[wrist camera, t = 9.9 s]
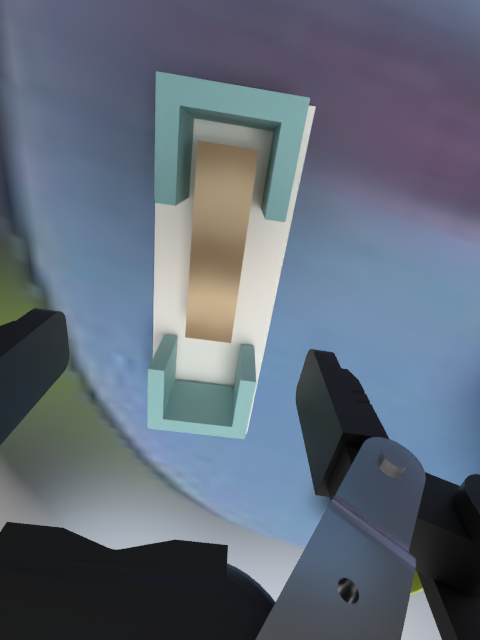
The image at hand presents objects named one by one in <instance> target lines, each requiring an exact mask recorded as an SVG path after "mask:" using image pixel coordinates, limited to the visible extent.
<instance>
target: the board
mask: <svg viewBox="0 0 480 640" xmlns="http://www.w3.org/2000/svg"><path fill="white" fill-rule="evenodd" d="M314 112H315V106H309V107H308V112H307V117H306V122H305V127H304V132H303V137H302V142H301V147H300V152H299V157H298V162H297V167H296V172H295V177H294V182H293V186H292V191H291V196H290V201H289V206H288V211H287V216H286V221H285V222H280V221H273V220H266V219H265V218H264V215H263V213H262V210H261V204H262V198H263V192H264V185H265V179H266V173H267V167H268V161H269V155H270V149H271V143H272V137H273V131H267V130H261V129H255V128H249V127H243V126H237V125H231V124H225V123H219V122H213V121H207V120H201V119H195V118H194V128H193V144H192V160H191V176H190V192H189V198H187V199H186V200H184V201H182V202H181V203H179V204H177V205H176V206H173V205H166V204H160V203H155V258H154V323H153V357H154V355H155V353H156V351H157V349H158V347H159V344H160V342H161V340H162V338H163V336H164V335H169V336H177V337H178V340H177V358H176V375H175V380H178V381H187V382H195V383H203V384H212V385H220V386H228V387H234V383H235V377H236V371H237V365H238V359H239V353H240V348H241V345H247V346H254V349H255V367H256V386H255V391H254V396H253V401H252V405H251V410H250V415H249V420H248V425H247V429H246V434H247V430H248V426H249V421H250V416H251V411H252V407H253V402H254V397H255V392H256V388H257V383H258V378H259V373H260V369H261V364H262V359H263V354H264V350H265V345H266V340H267V335H268V331H269V326H270V321H271V316H272V312H273V307H274V302H275V297H276V293H277V288H278V283H279V278H280V274H281V269H282V264H283V259H284V255H285V250H286V245H287V240H288V236H289V231H290V226H291V221H292V217H293V212H294V207H295V202H296V198H297V193H298V188H299V183H300V179H301V174H302V169H303V164H304V160H305V155H306V150H307V145H308V141H309V136H310V131H311V126H312V122H313V117H314ZM198 141H205V142H211V143H218V144H224V145H230V146H237V147H243V148H249V149H256V150H259V153H258V159H257V166H256V173H255V180H254V187H253V194H252V201H251V208H250V215H249V222H248V229H247V236H246V243H245V250H244V257H243V263H242V270H241V277H240V284H239V291H238V298H237V305H236V312H235V319H234V326H233V333H232V340H231V343H226V342H218V341H210V340H202V339H194V338H186V337H185V331H186V315H187V300H188V284H189V269H190V253H191V237H192V222H193V206H194V191H195V175H196V159H197V144H198Z"/></svg>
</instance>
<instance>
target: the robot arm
mask: <svg viewBox="0 0 480 640" xmlns="http://www.w3.org/2000/svg"><path fill="white" fill-rule="evenodd" d="M68 361H69V344H68V335H67V326H66V318H65V315H64V314H63V313H62V312H59V311H52V310H46V309H39V308H35V309H32V310H31V311H29V312H28V313H26V314H25V315H24V316H22V317H21V318H19V319H18V320H16V321H12V322H10V323H7V324H4V325H2V326H0V445H1V444H2V443H3V441H4V440H5V439H6V438H7V437H8V436H9V434H10V433H11V432H12V431H13V430H14V429H15V428H16V426H17V425H18V424H19V423H20V422H21V421H22V419H23V418H24V417H25V416H26V415H27V414H28V413H29V411H30V410H31V409H32V408H33V407H34V406H35V404H36V403H37V402H38V401H39V400H40V399H41V398H42V396H43V395H44V394H45V393H46V392H47V391H48V389H49V388H50V387H51V386H52V385H53V384H54V382H55V381H56V380H57V379H58V378H59V377H60V376H61V374H62V373H63V372H64V371H65V369H66V367H67V365H68ZM296 405H297V410H298V415H299V420H300V424H301V429H302V434H303V438H304V443H305V448H306V453H307V457H308V462H309V467H310V471H311V476H312V481H313V486H314V490H315V495H320V496H328V497H330V499H331V502H330V504H329V505H328V507H327V509H326V511H325V513H324V515H323V516H322V518H321V520H320V522H319V524H318V526H317V527H316V529H315V531H314V533H313V535H312V537H311V538H310V540H309V542H308V544H307V546H306V548H305V550H304V551H303V553H302V555H301V557H300V559H299V561H298V563H297V564H296V566H295V568H294V570H293V572H292V573H291V575H290V577H289V579H288V581H287V583H286V584H285V586H284V588H283V590H282V592H281V594H280V596H279V597H278V599H277V601H276V602H275V601H274V600H273V599H272V597H271V596H270V595H269V594H268V593H267V592H266V591H265V590H264V589H263V587H261V585H260V584H259V583H257V582H256V581H255V580H254V579H252V578H251V577H250V576H249V575H248V574H246V573H244V572H243V571H241V570H239V569H238V568H236V567H234V566H232V565H230V564H227V551H228V545H220V544H210V543H201V542H192V541H182V540H171V541H166V542H160V543H154V544H148V545H143V546H138V547H132V548H126V549H121V550H113V549H110V548H107V547H105V546H103V545H100V544H98V543H96V542H94V541H91V540H89V539H87V538H84V537H82V536H80V535H78V534H76V533H73V532H71V531H69V530H67V529H64V528H59V527H50V526H40V525H31V524H21V523H12V522H7V523H6V524H5V526H4V527H3V529H2V531H1V532H0V640H401V636H402V631H403V626H404V621H405V617H406V612H407V607H408V602H409V597H410V593H411V588H412V583H413V578H414V573H415V571H417V574H418V576H419V579H420V582H421V584H422V587H423V590H424V592H425V595H426V598H427V600H428V603H429V606H430V608H431V611H432V614H433V617H434V619H435V622H436V624H437V627H438V630H439V633H440V635H441V638H442V640H480V475H478V474H475V475H470V476H468V477H467V478H466V479H465V481H464V482H463V483H462V485H461V486H458V485H456V484H453V483H451V482H448V481H446V480H443V479H441V478H438V477H435V476H433V475H430V474H428V473H426V472H425V471H424V469H423V467H422V465H421V463H420V462H419V460H418V459H417V458H416V457H415V456H414V455H413V454H412V453H411V452H410V451H409V450H408V449H406V448H405V447H403V446H402V445H400V444H399V443H397V442H395V441H392V440H390V439H389V438H388V436H387V434H386V432H385V430H384V428H383V426H382V424H381V422H380V420H379V418H378V416H377V415H376V413H375V411H374V409H373V407H372V405H371V404H370V401H369V399H368V397H367V395H366V394H364V390H363V388H362V386H361V384H360V382H359V380H358V379H357V378H356V377H355V376H354V375H353V374H352V373H351V372H349V371H348V370H347V369H342V368H341V367H340V365H339V363H338V360H337V358H336V356H335V354H334V353H333V352H327V351H321V350H314V349H310V350H309V352H308V354H307V356H306V359H305V363H304V366H303V369H302V372H301V375H300V379H299V382H298V385H297V390H296Z"/></svg>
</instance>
